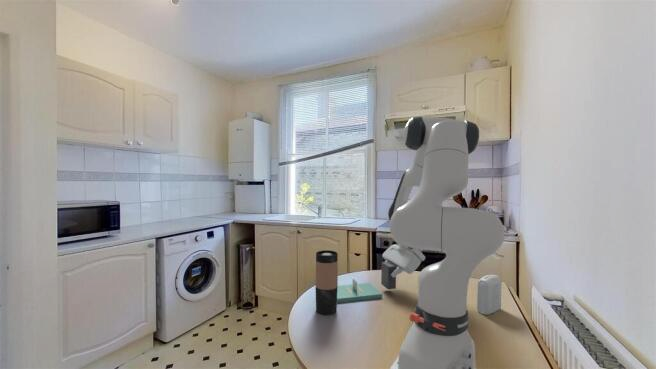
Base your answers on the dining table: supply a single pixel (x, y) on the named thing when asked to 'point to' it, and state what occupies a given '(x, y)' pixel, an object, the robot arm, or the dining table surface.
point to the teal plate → (357, 292)
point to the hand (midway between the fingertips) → (387, 273)
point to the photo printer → (489, 294)
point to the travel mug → (326, 282)
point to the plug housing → (388, 275)
